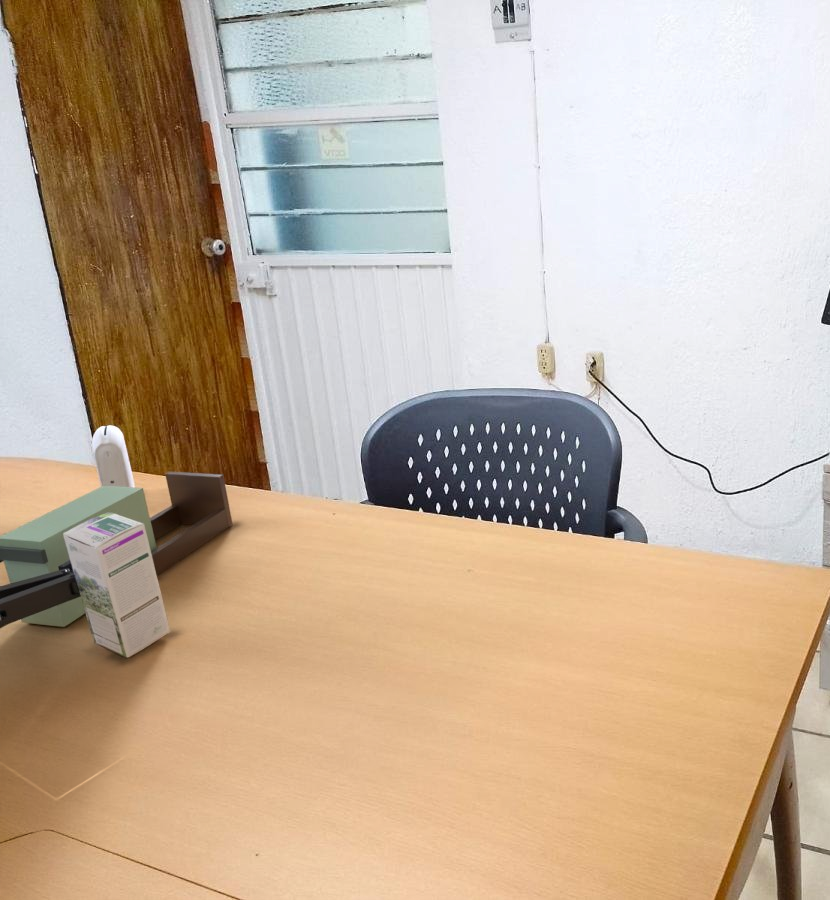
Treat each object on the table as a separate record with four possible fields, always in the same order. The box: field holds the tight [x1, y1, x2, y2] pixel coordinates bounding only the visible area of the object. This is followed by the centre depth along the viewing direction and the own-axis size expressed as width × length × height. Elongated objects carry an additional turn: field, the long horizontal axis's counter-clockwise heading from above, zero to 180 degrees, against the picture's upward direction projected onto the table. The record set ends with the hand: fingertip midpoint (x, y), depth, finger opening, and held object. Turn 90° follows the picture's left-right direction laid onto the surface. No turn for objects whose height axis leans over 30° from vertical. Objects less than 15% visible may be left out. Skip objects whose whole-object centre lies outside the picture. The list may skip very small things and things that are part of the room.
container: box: [0, 486, 158, 628], centre depth 102 cm, size 6×16×11 cm, turn 168°
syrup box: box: [63, 512, 171, 658], centre depth 90 cm, size 6×6×14 cm
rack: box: [150, 471, 234, 576], centre depth 115 cm, size 9×17×8 cm, turn 168°
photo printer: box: [91, 424, 136, 488], centre depth 130 cm, size 10×4×12 cm, turn 28°
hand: (59, 547), depth 99 cm, fingers open, 13 cm apart
